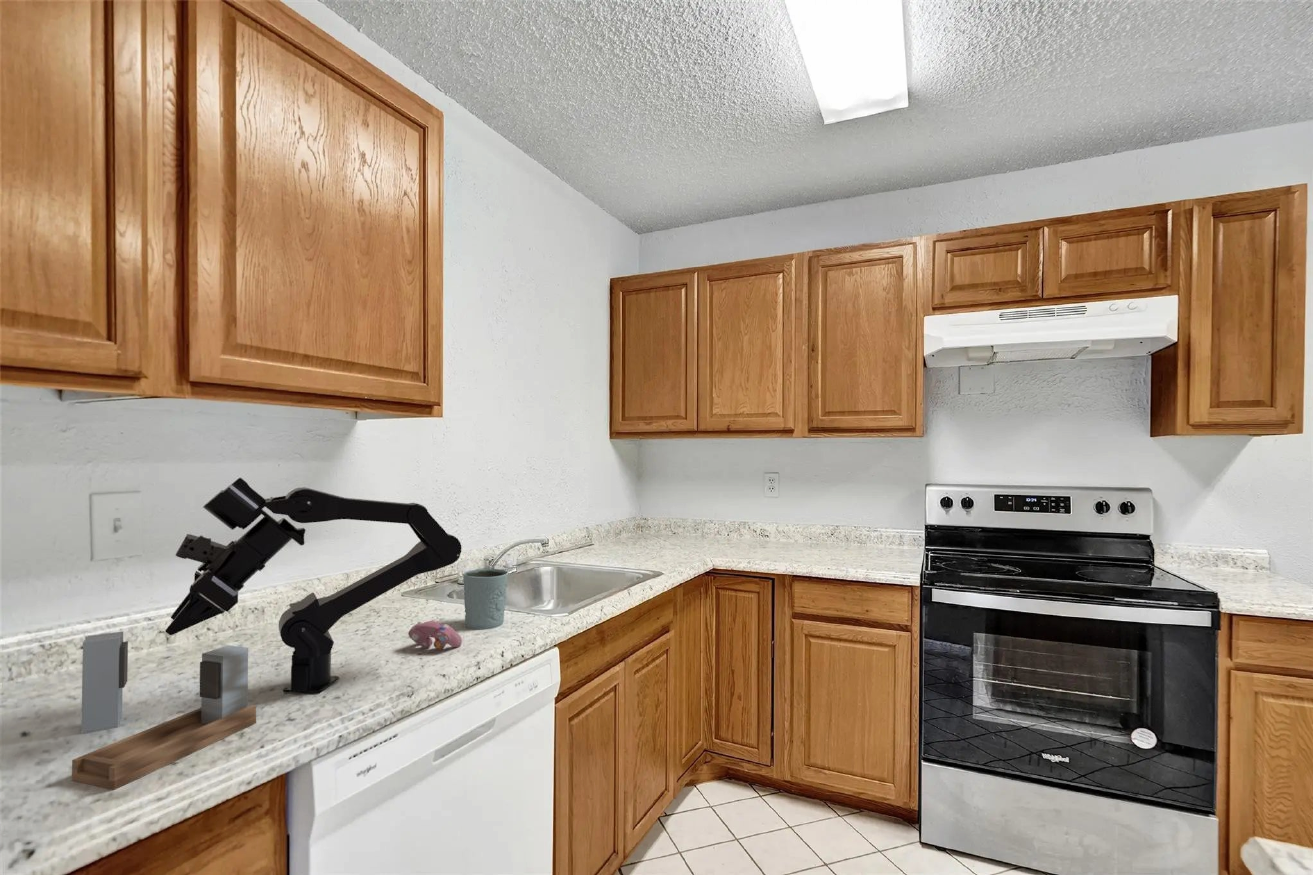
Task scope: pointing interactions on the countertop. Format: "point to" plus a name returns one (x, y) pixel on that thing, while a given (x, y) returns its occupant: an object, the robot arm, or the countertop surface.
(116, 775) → the walnut rail
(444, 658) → the countertop surface
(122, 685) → the slate finger
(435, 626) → the video game controller
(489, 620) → the grey green cup
